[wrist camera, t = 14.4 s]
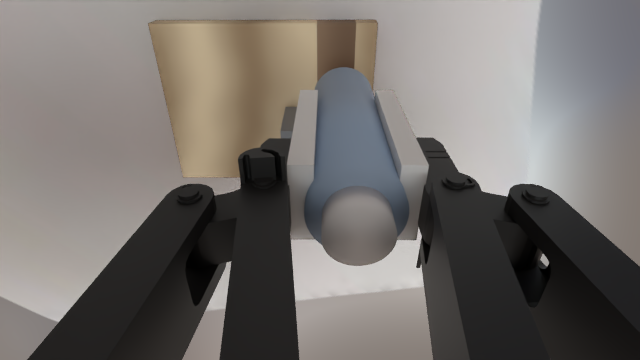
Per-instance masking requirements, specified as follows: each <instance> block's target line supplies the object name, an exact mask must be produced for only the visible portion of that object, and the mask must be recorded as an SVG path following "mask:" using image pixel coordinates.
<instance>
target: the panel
mask: <svg viewBox="0 0 640 360" xmlns="http://www.w3.org/2000/svg"><path fill="white" fill-rule="evenodd" d="M148 25H149V30H150V34H151V38H152V43H153V47H154V51H155V56H156V60H157V64H158V69H159V73H160V78H161V82H162V86H163V91H164V95H165V99H166V104H167V108H168V112H169V117H170V121H171V125H172V130H173V134H174V139H175V143H176V147H177V152H178V156H179V160H180V165H181V169H182V173H183V177H240V173H239V165H238V157H239V156H240V154H242V153H243V152H245V151H247V150H250V149H253V148H259V147H261V144H262V143H264V142H265V141H266V140H267V139H269V138H281V134H280V130H281V126H282V121H283V116H284V111H285V107H297V105H298V99H299V94H300V90H315V86H316V84H317V82H318V81H319V79H320V78H321V77H322V76H323V75H324V74H325V73H327V72H328V71H330V70H332V69H335V68H340V67H348V68H352V69H355V70H357V71H359V72H361V73H362V74H363V75H364V76H365V77H366V78H367V79H368V81H369V83H370V85H371V88H372V91H373V80H374V67H375V53H376V39H377V25H378V23H377V21H376V20H155V21H153V22H151V23H149V24H148Z"/></svg>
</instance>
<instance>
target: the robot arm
mask: <svg viewBox="0 0 640 360" xmlns="http://www.w3.org/2000/svg"><path fill="white" fill-rule="evenodd" d="M375 104H376V107H377V110H378V113H379V116H380V119H381V123H382V126H383V129H384V132H385V135H386V138H387V142H388V145H389V148H390V151H391V154H392V157H393V160H394V164H395V167H396V170H397V173H398V176H399V179H400V182H401V183H402V185H403V187H404V190H405V193H406V196H407V199H408V202H409V218H408V221H407V224H406V226H405V228H404V230H403V231H402V233H401V234H400V235H399V236H398V237H397V240H416V238H417V232H418V227H419V229H420V232H421V235H422V239H421V244H420V250H419V255H418V261H417V266H416V268H420V265H422V273H423V281H424V289H425V296H426V305H427V313H428V321H429V329H430V337H431V345H432V353H433V360H640V267H639V266H638V265H637V264H636V263H635V262H634V261H633V260H631V259H630V258H629V257H628V256H627V255H626V254H625V253H623V252H622V251H621V250H620V249H619V248H618V247H617V246H615V245H614V244H613V243H612V242H611V241H610V240H609V239H607V238H606V237H605V236H604V235H603V234H602V233H600V232H599V231H598V230H597V229H596V228H595V227H594V226H593V225H591V224H590V223H589V222H588V221H587V220H586V219H585V218H583V217H582V216H581V215H580V214H579V213H578V212H577V211H575V210H574V209H573V208H572V207H571V206H570V205H569V204H568V203H566V202H565V201H564V200H563V199H562V198H561V197H560V196H558V195H557V194H555V193H554V192H552V191H551V190H548V189H546V188H544V187H542V186H539V185H537V186H536V185H534V184H519V185H514V186H513V187H512V188H510V191H509V194H508V197H506V196H501V195H495V194H490V193H486V192H482V191H481V189H480V186H479V184H478V183H477V182H476V180H475V179H473V178H471V177H470V176H468V175H465V174H462V173H459V172H458V170H457V168H456V167H455V165H454V163H453V162H452V160H451V158H450V156H449V155H448V153H446V150H445V148H444V146H443V145H442V144H441V143H440V142H438V141H437V140H435V139H434V138H416V137H415V135H414V133H413V131H412V129H411V126H410V124H409V122H408V120H407V118H406V116H405V114H404V112H403V110H402V107H401V105H400V103H399V101H398V99H397V97H396V95H395V93H394V90H376V91H375ZM317 108H318V90H300V94H299V99H298V105H297V111H296V116H295V122H294V127H293V133H292V138H269V139H267V140H266V141H265V142H264V143H262V144H261V147H259V148H253V149H250V150H247V151H245V152H243V153H242V154H240V156H239V157H238V165H239V173H240V180H241V188H240V189H239V190H236V191H234V192H231V193H227V194H221V195H216V196H214V192H213V190H212V188H210V187H209V186H207V185H202V184H187V185H183V186H180V187H178V188H176V189H174V190H172V191H171V192H170V193H168V194H167V195H166V196H165V198H164V199H163V200H162V201H161V202H160V203H159V205H158V206H157V207H156V208H155V209H154V211H153V212H152V213H151V214H150V215H149V216H148V218H147V219H146V220H145V221H144V222H143V224H142V225H141V226H140V227H139V228H138V229H137V231H136V232H135V233H134V234H133V235H132V237H131V238H130V239H129V240H128V241H127V242H126V244H125V245H124V246H123V247H122V248H121V250H120V251H119V252H118V253H117V254H116V255H115V257H114V258H113V259H112V260H111V261H110V263H109V264H108V265H107V266H106V267H105V268H104V270H103V271H102V272H101V273H100V274H99V276H98V277H97V278H96V279H95V280H94V281H93V283H92V284H91V285H90V286H89V287H88V289H87V290H86V291H85V292H84V293H83V294H82V296H81V297H80V298H79V299H78V300H77V302H76V303H75V304H74V305H73V306H72V307H71V309H70V310H69V311H68V312H67V313H66V315H65V316H64V317H63V318H62V319H61V320H60V322H59V323H58V324H57V325H56V326H55V328H54V329H53V330H52V331H51V332H50V333H49V335H48V336H47V337H46V338H45V339H44V341H43V342H42V343H41V344H40V345H39V346H38V348H37V349H36V350H35V351H34V353H33V354H32V355H31V356H30V357H29V358H28V359H27V360H182V358H183V356H184V354H185V352H186V350H187V348H188V346H189V343H190V342H191V339H192V337H193V335H194V333H195V331H196V329H197V327H198V324H199V323H200V320H201V318H202V316H203V314H204V312H205V310H206V308H207V306H208V303H209V301H210V299H211V297H212V295H213V293H214V291H215V289H216V286H217V284H218V282H219V280H220V278H221V276H222V274H223V272H224V270H225V267H226V262H230V261H232V262H231V270H230V278H229V286H228V295H227V303H226V311H225V319H224V328H223V336H222V344H221V352H220V360H299V350H298V335H297V321H296V307H295V294H294V280H293V266H292V252H291V239H315V238H314V237H313V236H312V235H311V233H310V232H309V230H308V228H307V226H306V223H305V218H304V208H305V198H306V194H307V191H308V189H309V187H310V185H311V183H312V182H313V181H314V167H315V147H316V128H317ZM290 231H291V238H290ZM542 254H544V255H545V256H546V257H547V259H548V261H549V265H548V266H547V267H546V266H545V265H544V264H543V263H542V261H541V260H540V258H541V256H542Z"/></svg>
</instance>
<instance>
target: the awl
mask: <svg viewBox="0 0 640 360" xmlns="http://www.w3.org/2000/svg"><path fill="white" fill-rule="evenodd" d="M315 90H318V108H317V128H316V147H315V167H314V181H313V182H312V183H311V185H310V187H309V189H308V191H307V194H306V198H305V208H304V218H305V223H306V226H307V228H308V230H309V232H310V233H311V235H312V236H313V237H314V238H315V239H316V240H317V241H318V242H319V243H320V244H322V245H323V247H324V249H325V251H326V252H327V254H328V255H329V256H330V257H332V258H333V259H335V260H336V261H338V262H341V263H343V264H347V265H353V266H362V265H369V264H372V263H375V262H378V261H380V260H381V259H383V258H385V257H386V256H387V255H388V254H389V253H390V252H391V251H392V250H393V248H394V246H395V244H396V241H397V237H398V236H399V235H400V234H401V233H402V231H403V230H404V228H405V226H406V224H407V221H408V218H409V202H408V199H407V196H406V193H405V190H404V187H403V185H402V183H401V182H400V179H399V176H398V173H397V170H396V167H395V164H394V160H393V157H392V154H391V151H390V148H389V145H388V142H387V138H386V135H385V132H384V129H383V126H382V123H381V119H380V116H379V113H378V110H377V107H376V104H375V97H374V94H373V91H372V88H371V85H370V83H369V81H368V79H367V78H366V77H365V76H364V75H363V74H362V73H361V72H359V71H357V70H355V69H352V68H348V67H340V68H335V69H332V70H330V71H328V72H327V73H325V74H324V75H323V76H322V77H321V78H320V79H319V81H318V82H317V84H316V86H315Z"/></svg>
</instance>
